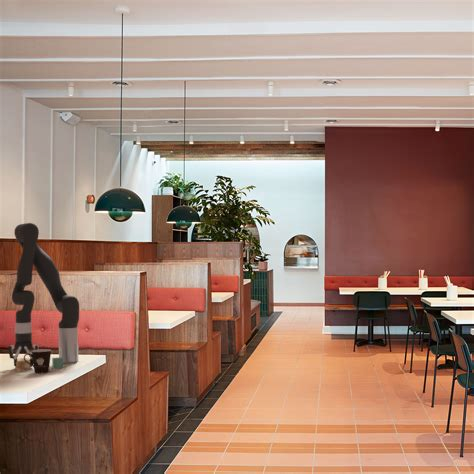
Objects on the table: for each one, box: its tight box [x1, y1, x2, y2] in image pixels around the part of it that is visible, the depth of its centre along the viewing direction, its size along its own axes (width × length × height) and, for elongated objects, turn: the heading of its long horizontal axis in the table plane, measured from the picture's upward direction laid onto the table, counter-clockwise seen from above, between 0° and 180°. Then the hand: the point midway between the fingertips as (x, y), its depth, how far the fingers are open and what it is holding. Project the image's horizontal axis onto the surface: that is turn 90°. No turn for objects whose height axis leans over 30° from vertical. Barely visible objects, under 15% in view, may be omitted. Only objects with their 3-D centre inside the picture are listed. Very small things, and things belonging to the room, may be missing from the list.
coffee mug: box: [23, 348, 52, 374], centre depth 318 cm, size 12×9×10 cm
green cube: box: [51, 356, 64, 369], centre depth 330 cm, size 4×4×4 cm
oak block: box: [15, 357, 32, 371], centre depth 329 cm, size 6×11×4 cm, turn 12°
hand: (23, 366), depth 329 cm, fingers closed on oak block, 6 cm apart
